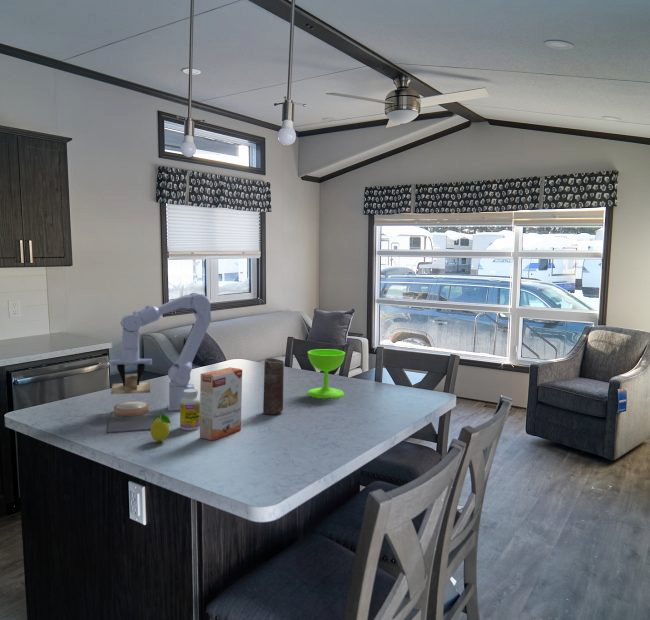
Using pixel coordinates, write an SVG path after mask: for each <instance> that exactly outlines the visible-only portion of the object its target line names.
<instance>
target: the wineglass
mask: <svg viewBox="0 0 650 620" xmlns="http://www.w3.org/2000/svg"><path fill="white" fill-rule="evenodd" d="M345 357H346V352H345V351H343V350H341V349H340V350H339V349H330V348H327V349H326V348H325V349H322V348H320V349H318V348H317V349H311V350H308V351H307V358H308V359H309V362H310V364H311V365H312V366H313V368H315V369H316V370H318V371H320V372H323V385H322V387H316V388H312V389H309V390H308V391H307V393H306V395H307V394H308V395H309V396H308V395H307V396H308V397H310V396H312V397H311V398H314V397H316V398H315V399H320V398H334V399H339V398H338V397H340V398H342V396H343V397H344V396H345V392H344V391H343V390H342V389H340V388H339V389H338V388H334V387H330V386H329V372H332V371H335V370H336V369H338V368H340V366H342V364H343V362H344V360H345Z"/></svg>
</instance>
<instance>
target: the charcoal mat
mask: <svg viewBox="0 0 650 620" xmlns="http://www.w3.org/2000/svg"><path fill="white" fill-rule="evenodd" d="M156 415H157V414H144V415H141V416H128V417H120V416H115V417H109V419H108V420H109V421H108V426H107V434H115V433H128V432H140V431H141V432H143V431H151V426H152V424H153V423H152V422H154V421H155V420H156V419H158V418H159V417H158V418H156V419H155V420H154V421H153V419H154V417H155V416H156Z"/></svg>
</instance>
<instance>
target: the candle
mask: <svg viewBox="0 0 650 620" xmlns="http://www.w3.org/2000/svg"><path fill="white" fill-rule="evenodd" d="M284 363H285V362H284V361H283V360H281V359H278V358H277V359H276V358H274V357H273V358H272V357H270V358H265V359H264V368H263V369H264V372H263V373H264V375H263V401H262V402H263V404H262V405H263V406H262V411H263V412H262V413H263V414H266V415H268V414H271V415H275V414H280V413H281V412H283V411H284V377H285V375H284V370H285V368H284V367H285V364H284Z"/></svg>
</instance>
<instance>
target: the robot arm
mask: <svg viewBox="0 0 650 620" xmlns="http://www.w3.org/2000/svg"><path fill="white" fill-rule="evenodd" d="M211 304H212V303H211V302H210V300H209V298H208V297H207V296H206V295H204V294H203V293H201V294H200V293H197V292H190V293H189V294H183V295H181V296H179V297H177V298H175V299H173V300H170V301H168V302H166V303H163V304H161V305H159V306H155V305H145V308H141V309H140V310H137V311H136V310H134V311H132V313H128V314H125V315H123V317H122V318H121V321H120V325H121V327H122V337H121V338H122V339H121V340H122V341H121V344H122V346H121V347H122V349H121V350H122V358H121V359H120V358H119V359H109V361H108V363H109V367H115V366H117V367H116V369H117V372H118V374H119V375H120V377H121V380H122V383H123V386H125V376H126V366H137V367H136V368H137V370H136V371H137V373H136V374H137V385H139V383H140V381H141V378H142V374H143V372H144V370H145V366H146V365H148V366H149V365H150V366H153V359H152V358H140V335H139V334H140V331H139V330H140V328H141V327H144V326H147V325H149V324H151V323H154V322H156V321H158V320H160V318H161V316H162V315H165V314H168V313H172V312H174V311H176V310H179V309H181V308H182V309H190V310H191V312H193V315H194V318H195V322H194V324H193V326H192V329H191V330H190V333H189V335H188V338H187V340H186V341H185V344H184V346H183V348H182V351H181V353H180V355H179V356H178V358H177V359H176V360H175V361H174V364H173V365H171V366H170V368H168V370H167V371H168V372H167V375H168V376H167V377H168V378H169V380H170V381H169V383H168V397H169V398H168V402H169V403H168V404H167V409H168V411H169V412H170V411H171V412H172V411H180V401H181V399H182V398H183V397H184V394H183V391H184V390H186V389H195V384H194V383H189V382H190V380H191V373H192V370H193V361H194V359H195V357H196V354H197V352H198V350H199V348H200V346H201V344H202V341H203V339H204V337H205V335H206V333H207V330H208V329H209V326H210V323H211V321H212V313H211V307H212V306H211Z"/></svg>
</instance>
